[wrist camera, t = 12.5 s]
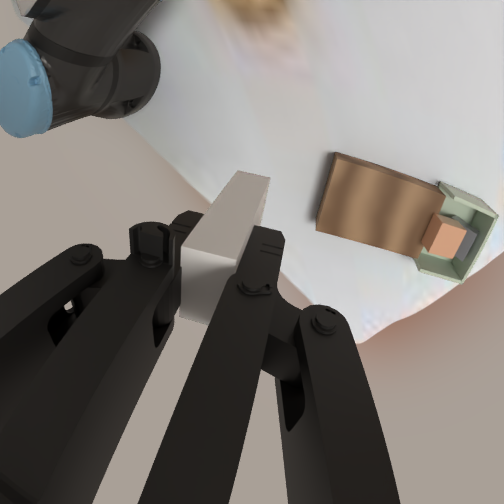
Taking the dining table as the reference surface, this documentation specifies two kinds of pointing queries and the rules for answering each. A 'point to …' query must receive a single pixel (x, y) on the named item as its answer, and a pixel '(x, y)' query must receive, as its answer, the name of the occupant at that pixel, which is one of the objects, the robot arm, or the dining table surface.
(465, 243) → the grey square block
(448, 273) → the tray
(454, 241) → the peach square block
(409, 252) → the walnut board
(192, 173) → the dining table surface
